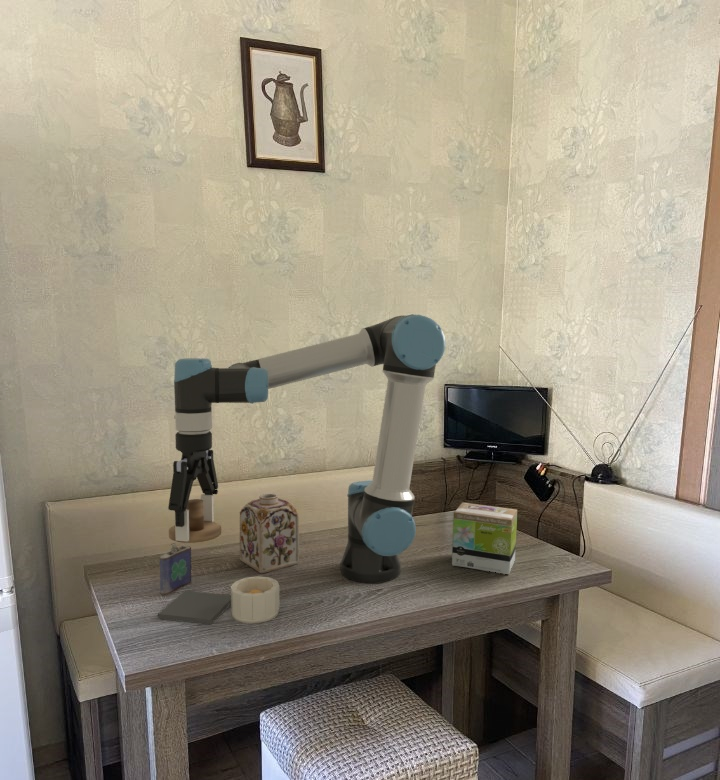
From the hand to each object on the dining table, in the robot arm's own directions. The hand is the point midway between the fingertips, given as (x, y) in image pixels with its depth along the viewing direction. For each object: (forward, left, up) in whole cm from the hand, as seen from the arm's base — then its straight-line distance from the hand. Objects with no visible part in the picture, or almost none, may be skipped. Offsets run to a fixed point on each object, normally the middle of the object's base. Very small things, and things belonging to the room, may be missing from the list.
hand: (195, 531), depth 135 cm
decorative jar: (-6, -29, -18) cm, 35 cm away
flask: (+10, -9, -18) cm, 22 cm away
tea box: (-61, -40, -18) cm, 75 cm away
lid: (0, 0, 0) cm, 0 cm away
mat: (0, 0, -17) cm, 17 cm away
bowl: (-13, -1, -17) cm, 22 cm away
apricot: (-13, -1, -17) cm, 22 cm away
